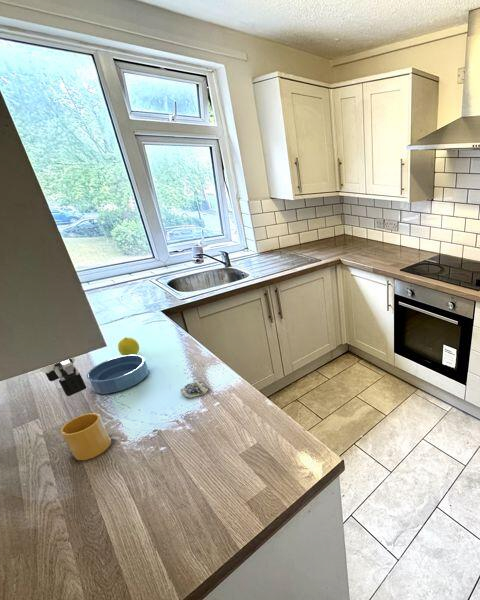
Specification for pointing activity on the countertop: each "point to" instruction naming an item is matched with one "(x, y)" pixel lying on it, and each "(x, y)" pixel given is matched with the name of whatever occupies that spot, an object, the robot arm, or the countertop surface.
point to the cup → (86, 436)
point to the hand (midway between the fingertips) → (67, 384)
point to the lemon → (128, 346)
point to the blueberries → (194, 389)
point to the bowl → (117, 374)
